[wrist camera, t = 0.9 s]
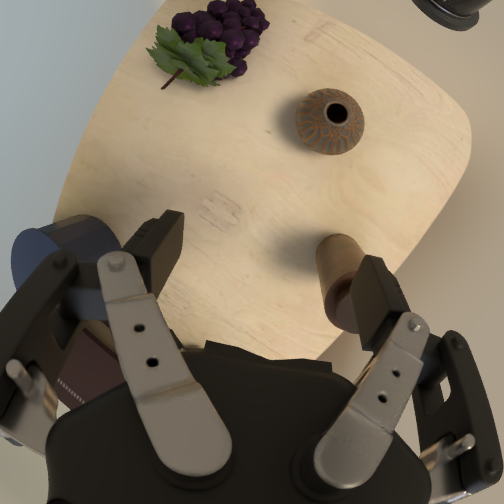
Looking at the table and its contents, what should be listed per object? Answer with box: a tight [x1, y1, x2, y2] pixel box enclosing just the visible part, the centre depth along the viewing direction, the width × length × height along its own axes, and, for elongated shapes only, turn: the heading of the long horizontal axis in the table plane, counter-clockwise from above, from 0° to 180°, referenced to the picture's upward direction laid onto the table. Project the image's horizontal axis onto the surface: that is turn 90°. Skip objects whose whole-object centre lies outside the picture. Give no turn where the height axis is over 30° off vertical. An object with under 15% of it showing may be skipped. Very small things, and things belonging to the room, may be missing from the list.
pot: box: [39, 215, 121, 263], centre depth 34 cm, size 14×14×10 cm
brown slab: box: [53, 320, 125, 410], centre depth 43 cm, size 28×20×6 cm
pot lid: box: [11, 228, 63, 290], centre depth 27 cm, size 15×15×4 cm
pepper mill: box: [316, 234, 365, 334], centre depth 27 cm, size 6×6×14 cm
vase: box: [296, 88, 364, 155], centre depth 25 cm, size 7×7×9 cm
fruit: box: [146, 0, 270, 90], centre depth 23 cm, size 10×11×15 cm
